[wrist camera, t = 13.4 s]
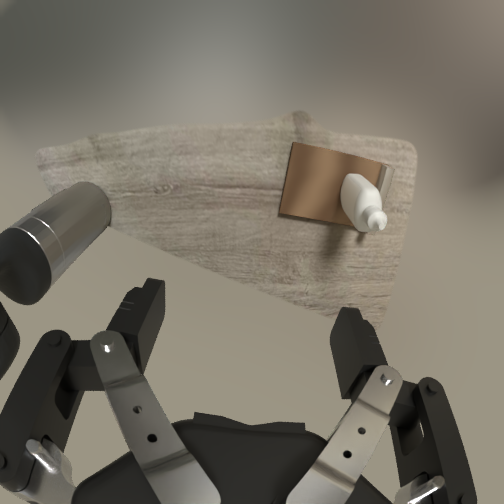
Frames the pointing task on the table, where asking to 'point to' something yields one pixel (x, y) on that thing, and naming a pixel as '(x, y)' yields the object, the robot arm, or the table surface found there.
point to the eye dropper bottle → (362, 203)
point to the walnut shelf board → (327, 182)
